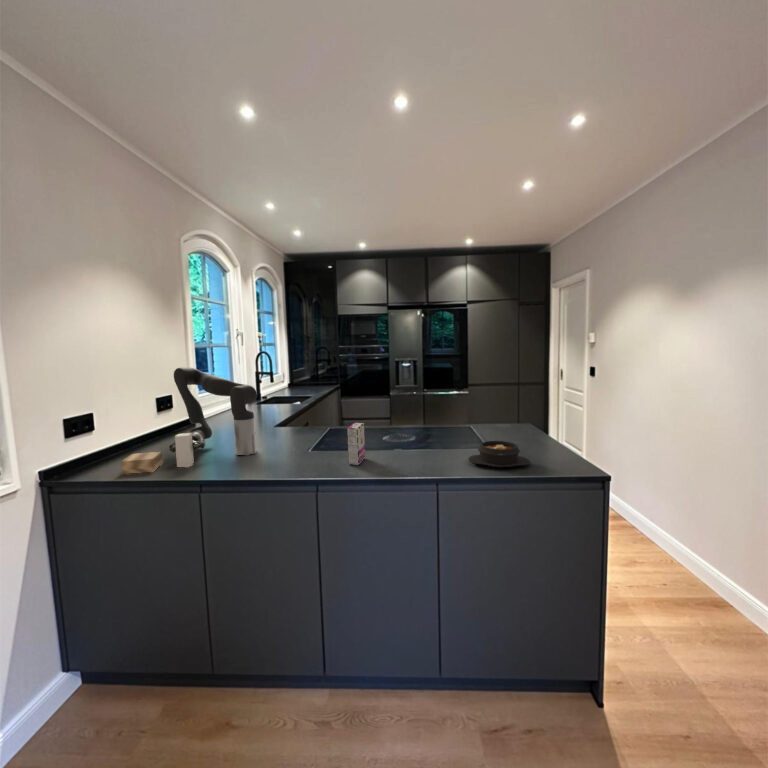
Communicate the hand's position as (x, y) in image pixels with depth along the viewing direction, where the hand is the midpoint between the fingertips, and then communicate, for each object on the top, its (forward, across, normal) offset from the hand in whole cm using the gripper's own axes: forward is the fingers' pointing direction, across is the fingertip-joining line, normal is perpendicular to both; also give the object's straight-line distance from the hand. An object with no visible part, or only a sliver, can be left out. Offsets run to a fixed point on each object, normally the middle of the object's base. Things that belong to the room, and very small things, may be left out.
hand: (183, 449), depth 176 cm
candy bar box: (+16, +74, +8) cm, 76 cm away
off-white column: (-1, 0, +8) cm, 8 cm away
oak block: (-1, -17, +8) cm, 19 cm away
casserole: (+37, +131, +8) cm, 136 cm away
